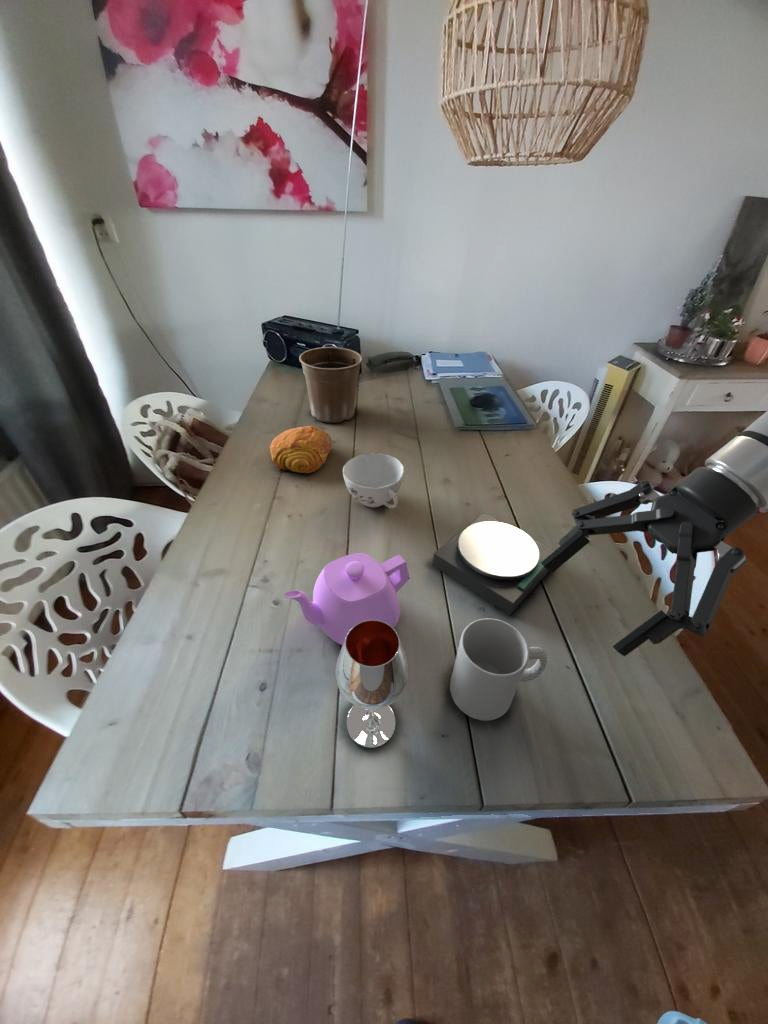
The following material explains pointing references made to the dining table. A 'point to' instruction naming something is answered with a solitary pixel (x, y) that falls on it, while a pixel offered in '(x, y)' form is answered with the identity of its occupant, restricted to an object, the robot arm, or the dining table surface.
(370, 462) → the teacup
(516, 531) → the scale pan
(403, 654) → the wineglass
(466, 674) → the mug
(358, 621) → the teapot
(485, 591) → the scale
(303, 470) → the croissant
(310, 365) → the plant pot
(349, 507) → the dining table surface
